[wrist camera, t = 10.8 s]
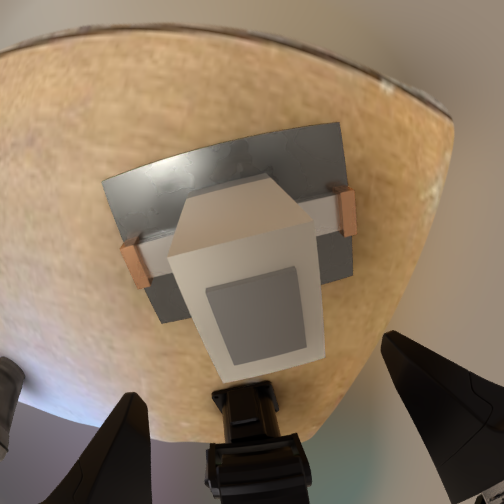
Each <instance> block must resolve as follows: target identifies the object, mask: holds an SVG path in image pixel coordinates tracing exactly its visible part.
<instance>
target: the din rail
mask: <svg viewBox="0 0 504 504" xmlns="http://www.w3.org/2000/svg"><path fill="white" fill-rule="evenodd" d="M263 173H266V174H267V175H268V176H270V177H271V178H272V179H273V180H274V181H275V182H276V183H277V184H278V185H279V186H280V187H281V188H282V189H283V190H284V191H285V192H286V193H287V194H288V195H289V196H290V197H291V198H292V199H293V200H294V201H295V202H296V203H297V204H298V205H299V206H300V207H301V208H302V209H303V210H304V211H305V212H306V213H307V214H308V215H309V216H310V217H311V218H312V219H313V220H314V225H315V233H316V242H317V251H318V261H319V271H320V282H321V285H322V284H326V283H329V282H333V281H336V280H339V279H343V278H346V277H349V276H353V259H352V235H356V234H357V221H356V205H355V193H354V190H353V189H352V188H350V187H348V183H347V174H346V165H345V157H344V150H343V143H342V136H341V129H340V123H339V122H334V123H326V124H318V125H311V126H304V127H298V128H292V129H286V130H280V131H275V132H269V133H264V134H259V135H254V136H250V137H245V138H240V139H236V140H232V141H227V142H223V143H219V144H215V145H211V146H208V147H204V148H200V149H196V150H193V151H189V152H186V153H182V154H179V155H176V156H172V157H169V158H166V159H163V160H160V161H156V162H153V163H150V164H147V165H144V166H141V167H139V168H136V169H133V170H130V171H127V172H125V173H122V174H119V175H117V176H114V177H111V178H109V179H106V180H104V181H102V185H103V188H104V191H105V194H106V197H107V200H108V203H109V206H110V208H111V211H112V214H113V217H114V219H115V222H116V224H117V227H118V230H119V232H120V235H121V237H122V240H123V242H124V243H123V245H122V246H121V248H120V251H121V253H122V255H123V258H124V260H125V262H126V264H127V267H128V269H129V271H130V273H131V275H132V278H133V280H134V282H135V284H136V286H137V288H138V289H142V288H144V289H145V292H146V294H147V296H148V298H149V300H150V302H151V304H152V306H153V308H154V310H155V312H156V314H157V316H158V318H159V320H160V321H161V323H162V324H163V323H168V322H173V321H178V320H182V319H187V318H192V317H191V315H190V312H189V310H188V308H187V305H186V303H185V301H184V298H183V296H182V294H181V291H180V289H179V286H178V284H177V282H176V279H175V277H174V274H173V272H172V269H171V267H170V264H169V262H168V259H167V256H168V253H169V249H170V246H171V243H172V240H173V237H174V234H175V231H176V228H177V225H178V222H179V219H180V216H181V213H182V210H183V207H184V204H185V201H186V198H187V196H188V193H189V192H191V191H195V190H199V189H202V188H206V187H210V186H214V185H217V184H221V183H225V182H229V181H233V180H237V179H242V178H246V177H250V176H254V175H259V174H263Z"/></svg>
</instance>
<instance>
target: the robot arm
mask: <svg viewBox="0 0 504 504" xmlns="http://www.w3.org/2000/svg"><path fill="white" fill-rule="evenodd" d="M381 354H382V356H383V359H384V361H385V364H386V366H387V368H388V371H389V373H390V376H391V378H392V381H393V383H394V385H395V388H396V390H397V392H398V394H399V395H400V397H401V399H402V401H403V403H404V405H405V407H406V408H407V410H408V412H409V414H410V416H411V418H412V420H413V422H414V424H415V426H416V428H417V430H418V432H419V434H420V436H421V438H422V440H423V442H424V444H425V446H426V448H427V450H428V452H429V454H430V456H431V458H432V461H433V463H434V465H435V467H436V468H437V471H438V474H439V476H440V478H441V481H442V483H443V485H444V487H445V490H446V492H447V494H448V497H449V499H450V501H451V504H457V503H460V502H462V501H465V500H466V499H469V498H471V497H473V496H475V495H477V494H479V493H481V494H480V495H479V496H478V497H477V499H476V501H475V504H504V387H502V386H500V385H497V384H495V383H493V382H490V381H488V380H486V379H484V378H482V377H480V376H478V375H476V374H474V373H472V372H471V371H468V370H467V369H465V368H463V367H461V366H459V365H458V364H456V363H454V362H452V361H450V360H448V359H446V358H444V357H443V356H441V355H439V354H437V353H435V352H434V351H432V350H430V349H428V348H426V347H424V346H423V345H421V344H419V343H417V342H415V341H413V340H411V339H409V338H408V337H406V336H404V335H402V334H400V333H399V332H397V331H394V330H392V331H389V332H387V333H384V335H383V337H382V344H381ZM212 399H213V401H214V402H215V404H216V405H217V407H218V408H219V410H220V411H221V413H222V414H223V424H224V435H225V443H221V444H215V443H210V449H207V450H206V460H207V465H206V473H205V485H206V486H207V487H208V488H210V490H211V492H212V493H213V497H214V498H215V499H220V500H221V504H309V496H308V490H307V487H310V486H311V484H312V476H311V470H310V466H309V462H308V460H307V457H306V455H305V452H304V450H303V447H302V445H301V442H300V439H299V437H298V434H297V433H293V434H291V435H286V436H281V435H280V430H279V426H278V422H277V417H276V413H275V412H278V411H279V407H278V403H277V400H276V397H275V394H274V390H273V387H272V384H271V382H269V381H267V382H262V383H258V384H253V385H249V386H244V387H239V388H234V389H229V390H224V391H218V392H214V393H212ZM39 504H152V491H151V443H150V431H149V420H148V408H147V405H146V403H145V402H144V401H143V400H142V399H141V397H140V396H139V395H138V394H137V393H136V392H127V393H125V394H124V395H123V396H122V398H121V399H120V401H119V402H118V403H117V405H116V406H115V408H114V409H113V410H112V412H111V413H110V415H109V416H108V417H107V419H106V420H105V422H104V423H103V424H102V426H101V427H100V429H99V430H98V431H97V433H96V434H95V436H94V437H93V438H92V440H91V441H90V443H89V444H88V446H87V447H86V448H85V450H84V451H83V453H82V454H81V456H80V457H79V459H78V460H77V462H76V463H75V464H74V466H73V467H72V468H71V470H70V471H69V473H68V474H67V475H66V476H65V478H64V479H63V480H62V481H61V483H60V484H59V485H58V486H57V487H56V489H54V491H53V492H52V493H51V494H50V495H49V496H48V497H47V498H46V500H44V501H43V502H41V503H39Z"/></svg>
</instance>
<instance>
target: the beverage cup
mask: <svg viewBox="0 0 504 504" xmlns="http://www.w3.org/2000/svg"><path fill="white" fill-rule="evenodd" d="M24 379H25V376H24V373H23V371H22V370H21V369H20V368H19V367H18V366H17V365H16V364H15V363H14V362H13V361H11V360H10V359H8V358H6V357H0V462H1V461H2V460H3V459H4V457H5V455H6V453H7V452H8V449H7V448H8V444H9V431H10V427H11V423H12V419H13V416H14V412H15V408H16V405H17V402H18V398H19V395H20V392H21V389H22V385H23V381H24Z"/></svg>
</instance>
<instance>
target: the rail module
mask: <svg viewBox="0 0 504 504" xmlns="http://www.w3.org/2000/svg"><path fill="white" fill-rule="evenodd" d="M167 259H168V262H169V264H170V267H171V269H172V272H173V274H174V277H175V279H176V282H177V284H178V286H179V289H180V291H181V294H182V296H183V298H184V301H185V303H186V305H187V308H188V310H189V312H190V315H191V317H192V319H193V321H194V324H195V326H196V328H197V330H198V332H199V334H200V337H201V339H202V341H203V343H204V345H205V347H206V349H207V351H208V354H209V356H210V358H211V360H212V362H213V364H214V366H215V368H216V370H217V372H218V374H219V376H220V378H221V380H222V382H223V383H227V382H233V381H237V380H242V379H247V378H252V377H256V376H260V375H264V374H269V373H273V372H277V371H281V370H284V369H288V368H292V367H295V366H299V365H303V364H306V363H309V362H313V361H316V360H319V359H323V358H325V340H324V322H323V307H322V294H321V282H320V271H319V261H318V251H317V242H316V233H315V225H314V220H313V219H312V218H311V217H310V216H309V215H308V214H307V213H306V212H305V211H304V210H303V209H302V208H301V207H300V206H299V205H298V204H297V203H296V202H295V201H294V200H293V199H292V198H291V197H290V196H289V195H288V194H287V193H286V192H285V191H284V190H283V189H282V188H281V187H280V186H279V185H278V184H277V183H276V182H275V181H274V180H273V179H272V178H271V177H270V176H268V175H267V174H266V173H263V174H259V175H254V176H250V177H246V178H242V179H237V180H233V181H229V182H225V183H221V184H217V185H214V186H210V187H206V188H202V189H199V190H195V191H191V192H189V193H188V196H187V198H186V201H185V204H184V207H183V210H182V213H181V216H180V219H179V222H178V225H177V228H176V231H175V234H174V237H173V240H172V243H171V246H170V249H169V253H168V256H167Z"/></svg>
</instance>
